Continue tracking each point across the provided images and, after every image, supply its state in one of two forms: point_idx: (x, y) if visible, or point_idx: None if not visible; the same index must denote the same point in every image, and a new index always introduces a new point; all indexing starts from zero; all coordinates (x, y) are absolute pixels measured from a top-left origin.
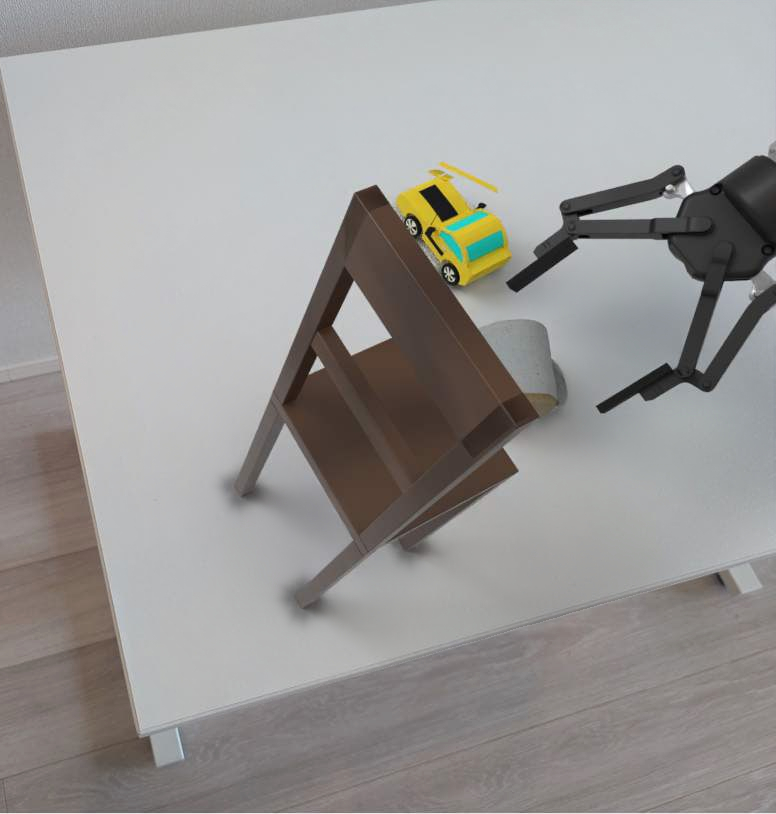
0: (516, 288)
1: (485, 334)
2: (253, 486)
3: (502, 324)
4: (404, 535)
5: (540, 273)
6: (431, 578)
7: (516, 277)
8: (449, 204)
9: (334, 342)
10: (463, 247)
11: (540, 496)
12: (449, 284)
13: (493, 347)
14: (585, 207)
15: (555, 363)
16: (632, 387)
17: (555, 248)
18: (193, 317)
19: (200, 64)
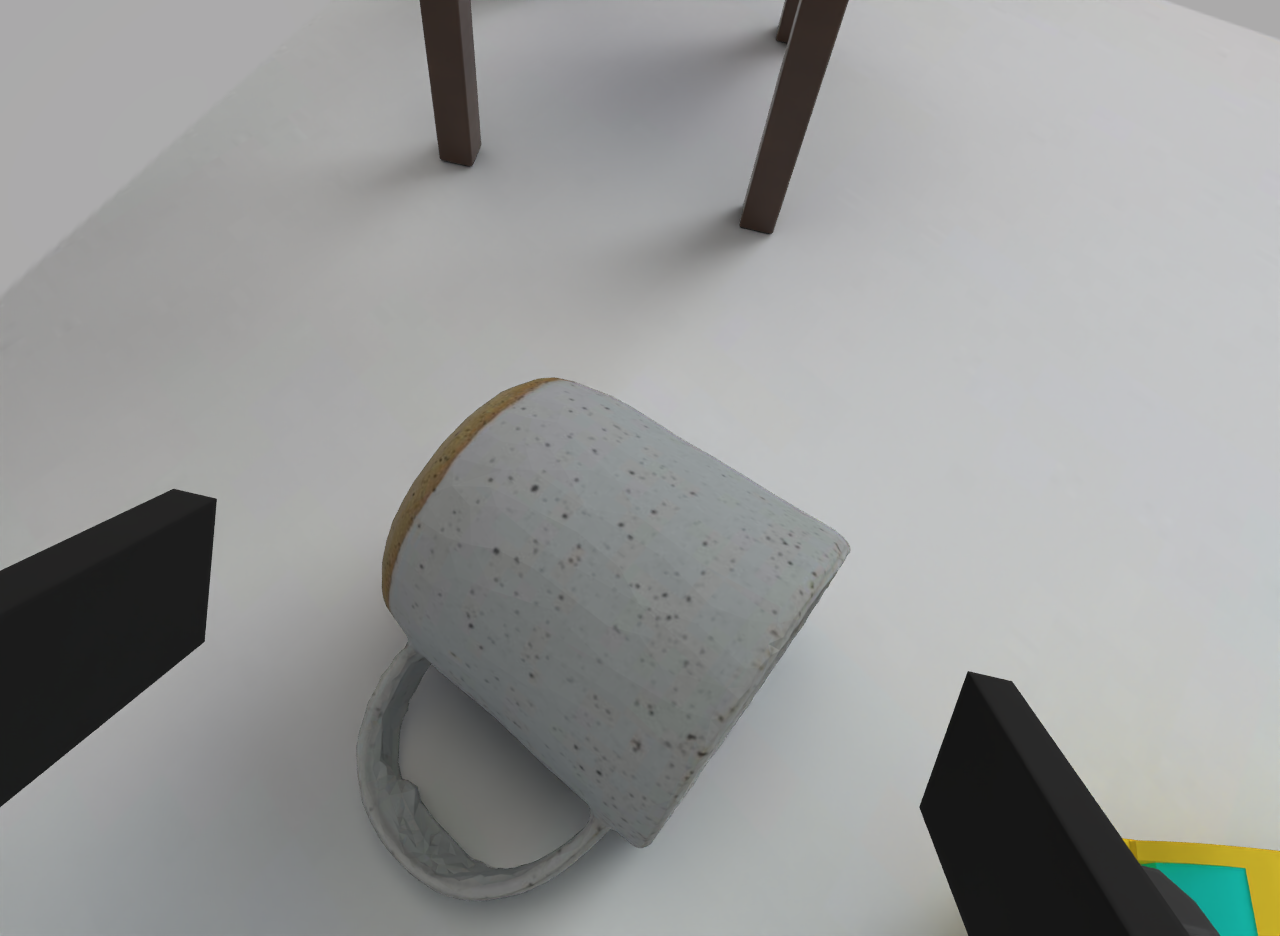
0: (950, 746)
1: (814, 518)
2: (785, 2)
3: (817, 549)
4: (478, 110)
5: (981, 886)
6: (359, 135)
7: (1020, 709)
8: None
9: None
10: (1246, 856)
11: (237, 473)
12: None
13: (748, 483)
14: None
15: (509, 884)
16: (60, 569)
17: (1156, 908)
18: (1209, 192)
19: None
